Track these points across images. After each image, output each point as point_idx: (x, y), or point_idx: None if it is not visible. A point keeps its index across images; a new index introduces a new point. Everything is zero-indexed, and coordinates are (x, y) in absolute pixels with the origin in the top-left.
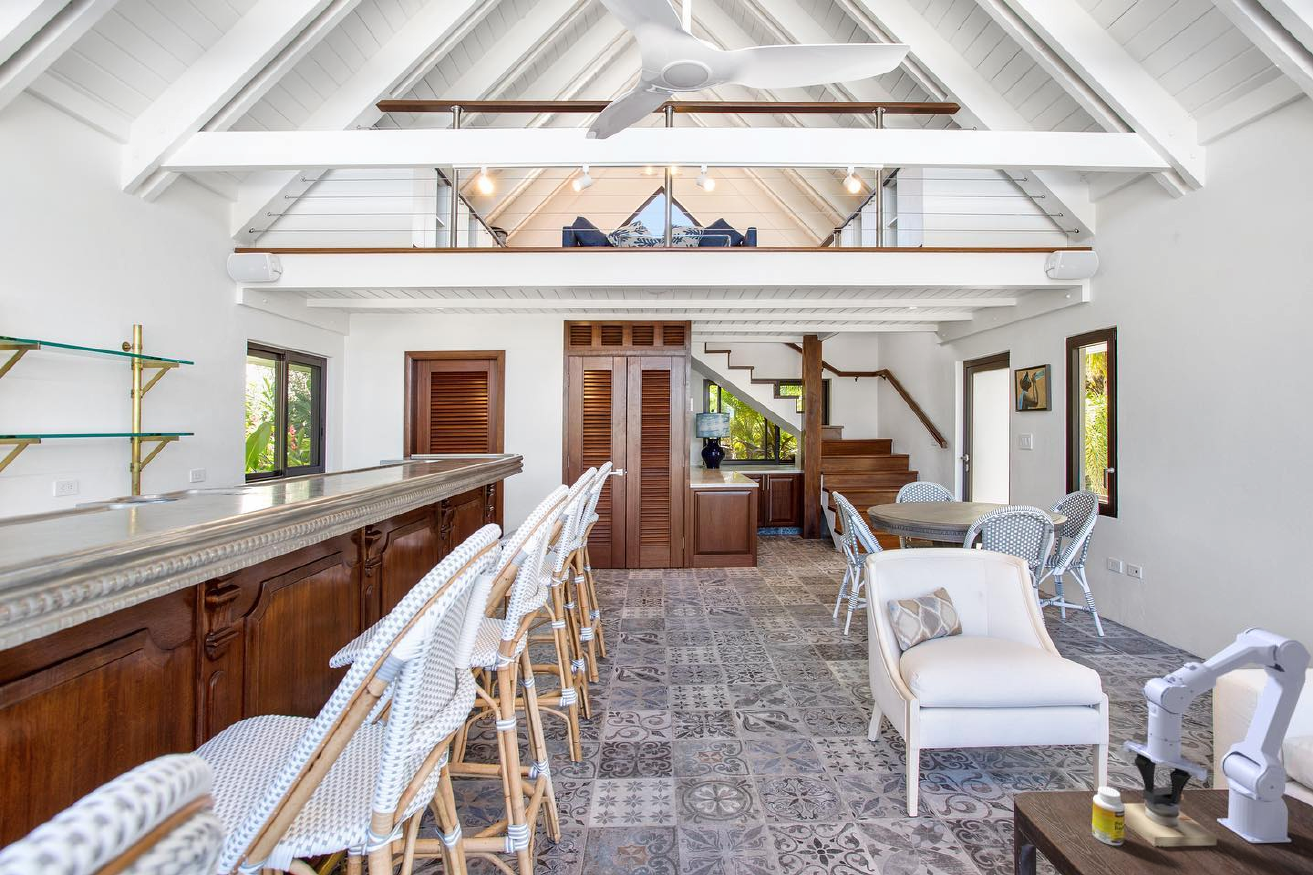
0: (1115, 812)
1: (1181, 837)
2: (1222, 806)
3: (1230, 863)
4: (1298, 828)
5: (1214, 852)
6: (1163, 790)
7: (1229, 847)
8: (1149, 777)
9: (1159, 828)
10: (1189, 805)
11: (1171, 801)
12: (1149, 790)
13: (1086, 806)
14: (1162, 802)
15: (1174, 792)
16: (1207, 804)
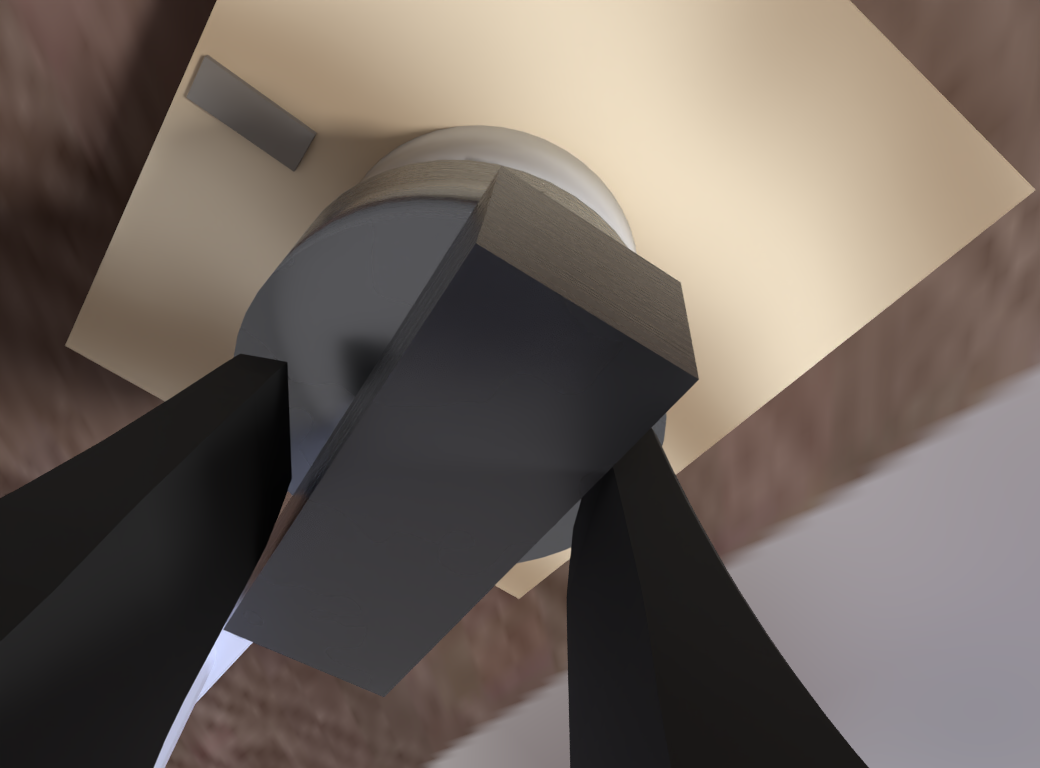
0: None
1: (214, 7)
2: (320, 755)
3: None
4: None
5: (54, 147)
6: (412, 547)
7: (56, 337)
8: (621, 688)
9: (444, 4)
10: (440, 680)
11: (271, 370)
12: (588, 384)
13: None
14: (405, 318)
15: (102, 468)
16: (376, 736)
